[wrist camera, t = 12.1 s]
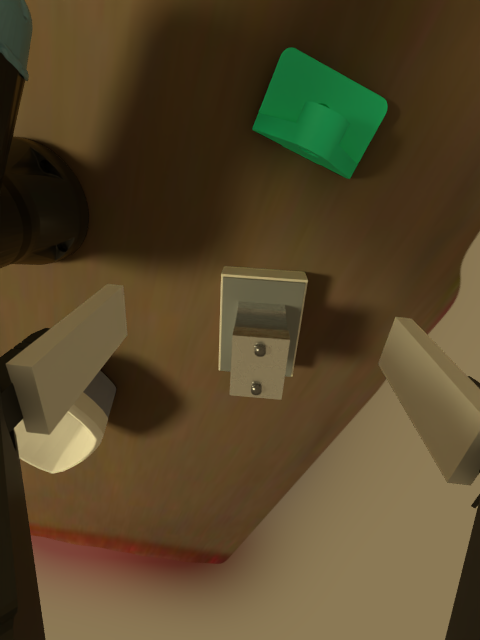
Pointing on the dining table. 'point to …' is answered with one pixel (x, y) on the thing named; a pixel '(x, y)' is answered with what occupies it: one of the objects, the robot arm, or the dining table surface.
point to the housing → (259, 350)
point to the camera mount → (319, 113)
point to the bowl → (70, 430)
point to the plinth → (260, 289)
